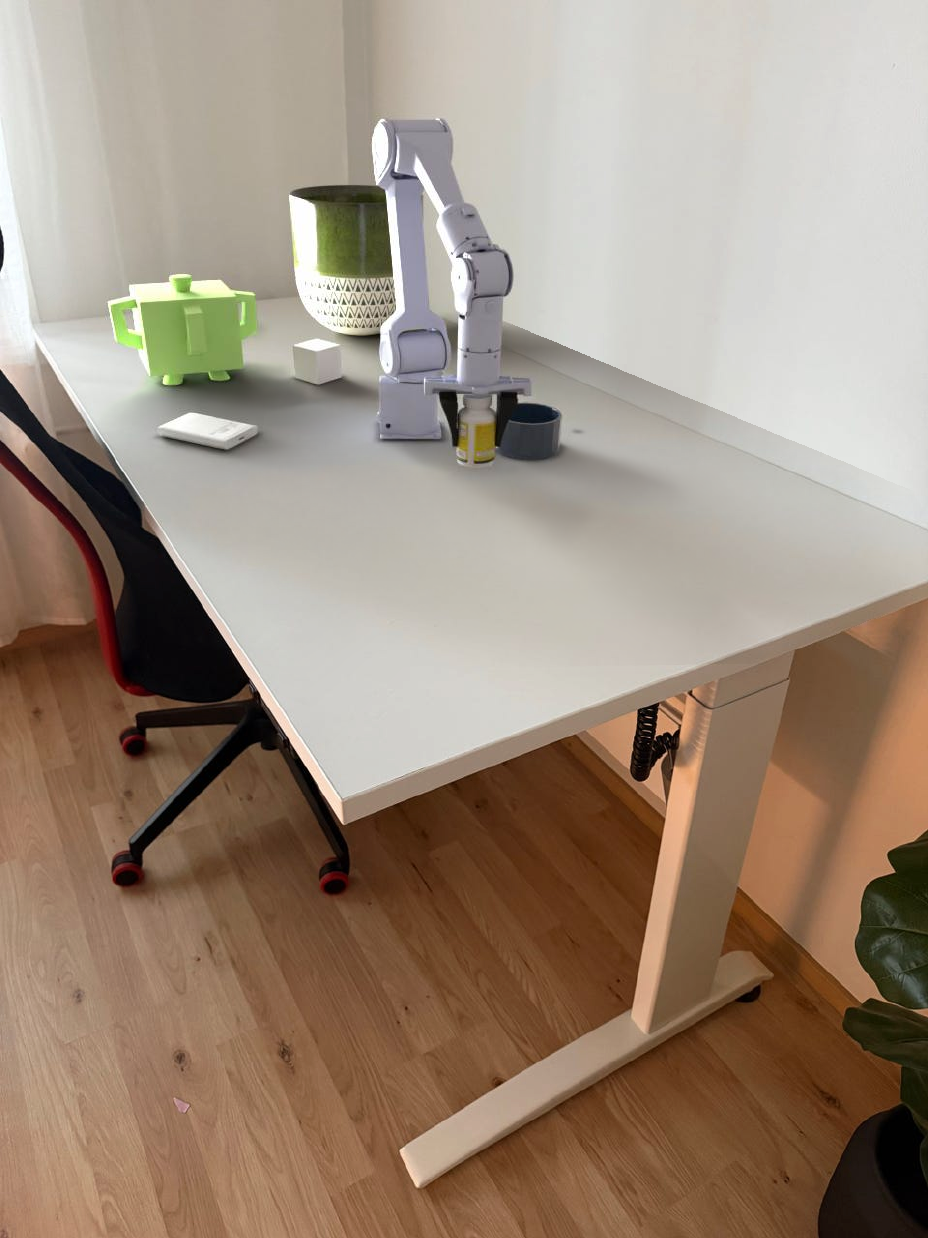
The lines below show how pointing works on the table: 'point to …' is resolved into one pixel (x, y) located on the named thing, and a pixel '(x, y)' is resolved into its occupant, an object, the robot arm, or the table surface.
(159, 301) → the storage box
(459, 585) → the table surface
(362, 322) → the planter
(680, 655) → the table surface
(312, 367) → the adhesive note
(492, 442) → the supplement bottle
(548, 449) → the dark grey hollow cylinder
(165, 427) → the hard drive
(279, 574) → the table surface
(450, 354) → the robot arm
